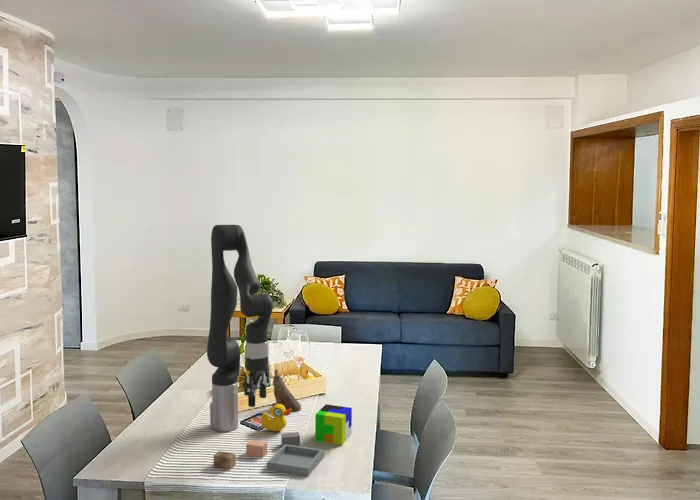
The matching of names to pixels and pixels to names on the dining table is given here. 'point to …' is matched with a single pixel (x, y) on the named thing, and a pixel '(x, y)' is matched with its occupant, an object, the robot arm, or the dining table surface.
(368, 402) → the dining table surface
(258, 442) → the terracotta brick
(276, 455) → the slate tray
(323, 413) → the puzzle toy
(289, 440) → the charcoal brick
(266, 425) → the duckling
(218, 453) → the walnut brick
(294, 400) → the worn brown figurine
